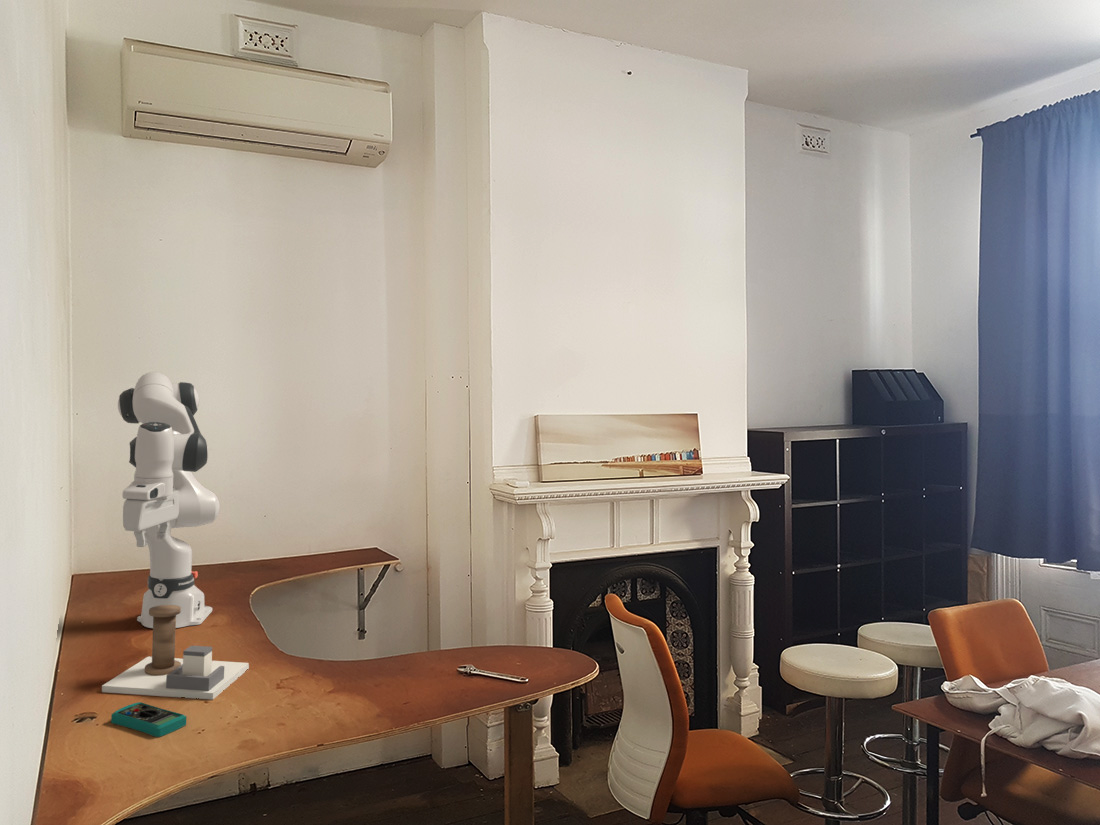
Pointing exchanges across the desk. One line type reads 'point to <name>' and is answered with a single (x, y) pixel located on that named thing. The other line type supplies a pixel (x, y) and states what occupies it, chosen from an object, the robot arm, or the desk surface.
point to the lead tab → (197, 661)
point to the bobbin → (163, 640)
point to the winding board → (176, 681)
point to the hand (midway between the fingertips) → (151, 542)
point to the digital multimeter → (148, 719)
